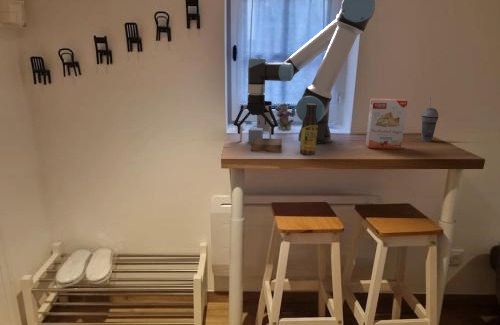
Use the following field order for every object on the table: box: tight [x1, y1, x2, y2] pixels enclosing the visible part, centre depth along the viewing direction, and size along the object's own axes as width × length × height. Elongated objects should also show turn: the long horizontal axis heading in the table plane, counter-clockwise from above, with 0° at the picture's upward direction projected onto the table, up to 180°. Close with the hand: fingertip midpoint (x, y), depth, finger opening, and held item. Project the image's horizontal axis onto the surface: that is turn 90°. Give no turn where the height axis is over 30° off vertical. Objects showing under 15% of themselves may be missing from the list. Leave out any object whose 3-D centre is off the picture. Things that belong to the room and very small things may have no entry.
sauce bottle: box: [299, 104, 318, 156], centre depth 146 cm, size 7×6×20 cm
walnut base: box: [250, 137, 283, 153], centre depth 156 cm, size 12×12×3 cm
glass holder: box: [256, 100, 273, 133], centre depth 192 cm, size 9×14×15 cm, turn 162°
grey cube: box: [247, 127, 264, 144], centre depth 167 cm, size 6×6×6 cm
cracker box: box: [365, 98, 408, 150], centre depth 157 cm, size 14×6×21 cm, turn 86°
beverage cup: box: [420, 97, 439, 143], centre depth 172 cm, size 7×7×20 cm
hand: (255, 141), depth 168 cm, fingers open, 13 cm apart
